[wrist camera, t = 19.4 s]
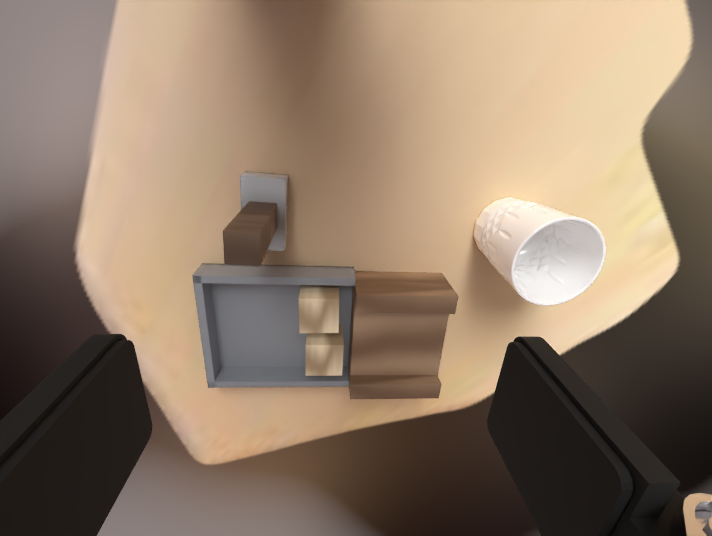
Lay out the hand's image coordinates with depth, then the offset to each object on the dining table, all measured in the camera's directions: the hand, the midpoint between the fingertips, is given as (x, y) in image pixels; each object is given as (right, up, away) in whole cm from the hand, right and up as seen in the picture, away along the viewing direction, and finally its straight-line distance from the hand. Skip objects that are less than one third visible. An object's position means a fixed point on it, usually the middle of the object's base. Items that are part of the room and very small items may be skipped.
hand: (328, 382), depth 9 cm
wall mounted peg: (-8, +9, +27) cm, 29 cm away
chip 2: (-1, -6, +31) cm, 32 cm away
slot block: (+5, -3, +33) cm, 33 cm away
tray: (-8, -3, +32) cm, 33 cm away
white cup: (+17, +7, +29) cm, 34 cm away
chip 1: (-1, -1, +29) cm, 29 cm away
